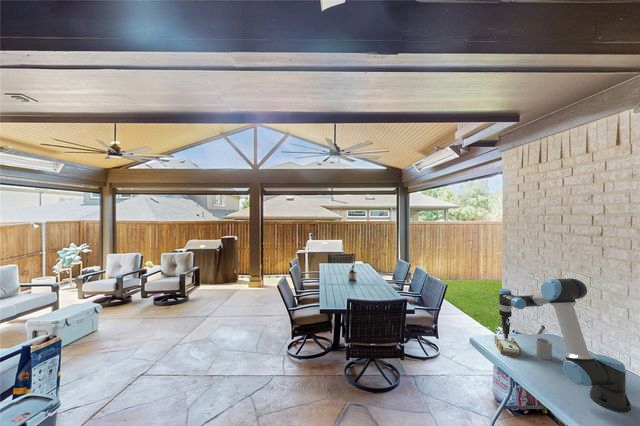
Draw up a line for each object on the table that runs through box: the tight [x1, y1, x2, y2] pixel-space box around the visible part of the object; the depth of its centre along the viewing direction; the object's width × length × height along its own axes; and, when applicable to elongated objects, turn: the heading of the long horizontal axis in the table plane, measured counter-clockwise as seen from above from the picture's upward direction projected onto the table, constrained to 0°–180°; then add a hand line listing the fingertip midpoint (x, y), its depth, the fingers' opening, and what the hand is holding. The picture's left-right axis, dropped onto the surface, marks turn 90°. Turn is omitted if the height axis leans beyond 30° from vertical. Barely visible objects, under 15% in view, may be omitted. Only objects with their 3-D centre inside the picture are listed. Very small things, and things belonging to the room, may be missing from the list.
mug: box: [535, 337, 553, 361], centre depth 193 cm, size 12×8×11 cm
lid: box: [499, 339, 519, 352], centre depth 199 cm, size 12×9×3 cm
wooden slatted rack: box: [494, 335, 522, 357], centre depth 202 cm, size 16×12×6 cm
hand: (505, 341), depth 205 cm, fingers closed
